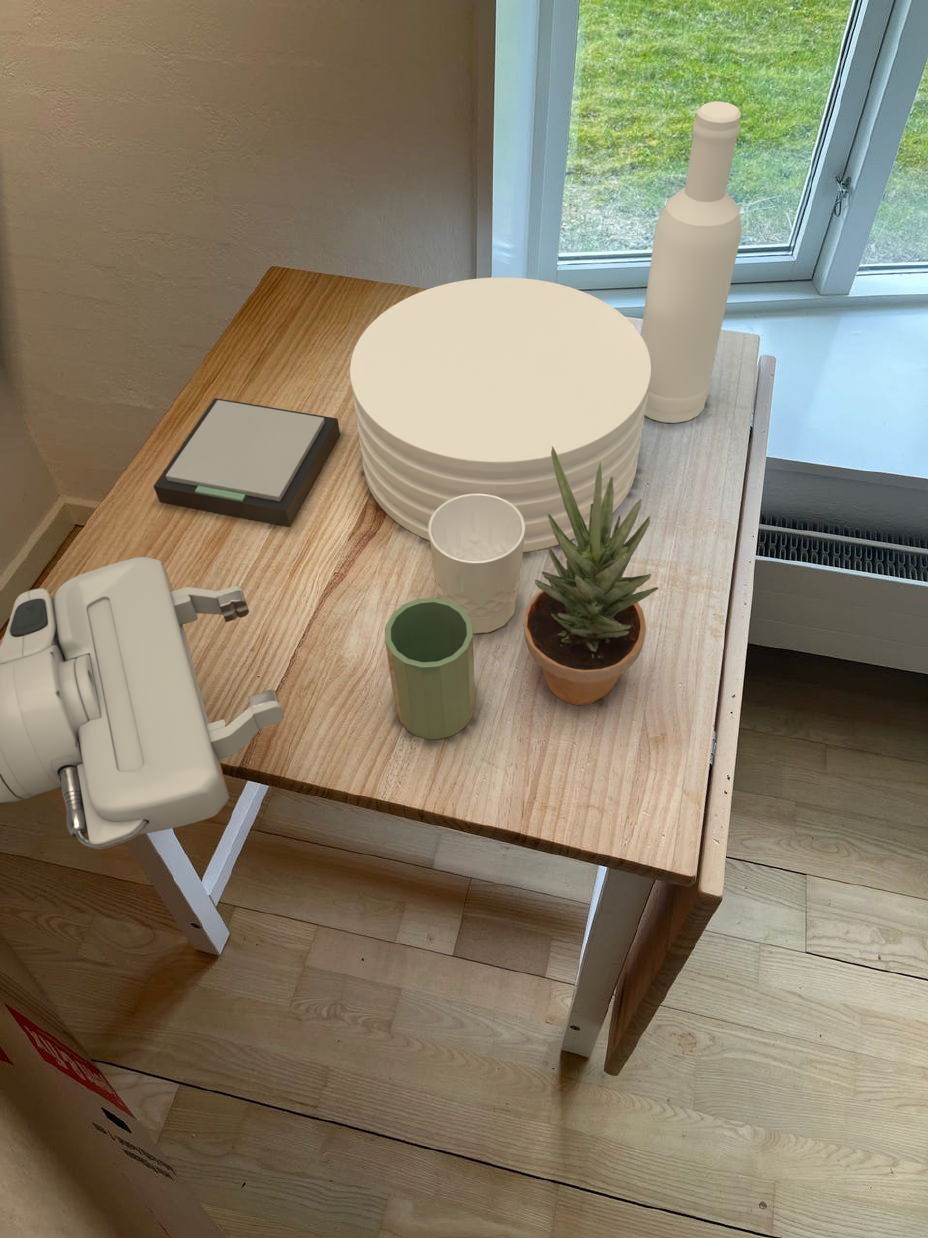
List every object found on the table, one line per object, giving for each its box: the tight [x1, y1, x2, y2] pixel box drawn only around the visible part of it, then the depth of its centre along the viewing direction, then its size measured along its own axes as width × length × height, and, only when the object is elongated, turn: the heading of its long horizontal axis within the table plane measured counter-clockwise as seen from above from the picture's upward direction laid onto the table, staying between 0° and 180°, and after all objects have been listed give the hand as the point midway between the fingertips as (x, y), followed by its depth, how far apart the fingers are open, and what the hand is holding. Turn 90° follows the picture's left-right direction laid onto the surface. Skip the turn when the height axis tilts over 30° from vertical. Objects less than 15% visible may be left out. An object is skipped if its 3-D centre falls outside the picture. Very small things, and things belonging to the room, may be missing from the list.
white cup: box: [428, 493, 525, 634], centre depth 81 cm, size 8×8×10 cm
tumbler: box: [384, 597, 476, 740], centre depth 74 cm, size 6×6×10 cm
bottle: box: [640, 101, 743, 424], centre depth 90 cm, size 8×8×30 cm
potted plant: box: [523, 446, 659, 706], centre depth 70 cm, size 10×10×25 cm
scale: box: [153, 397, 341, 528], centre depth 96 cm, size 14×14×3 cm
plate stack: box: [349, 276, 651, 553], centre depth 93 cm, size 28×28×12 cm
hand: (262, 649), depth 63 cm, fingers open, 8 cm apart
